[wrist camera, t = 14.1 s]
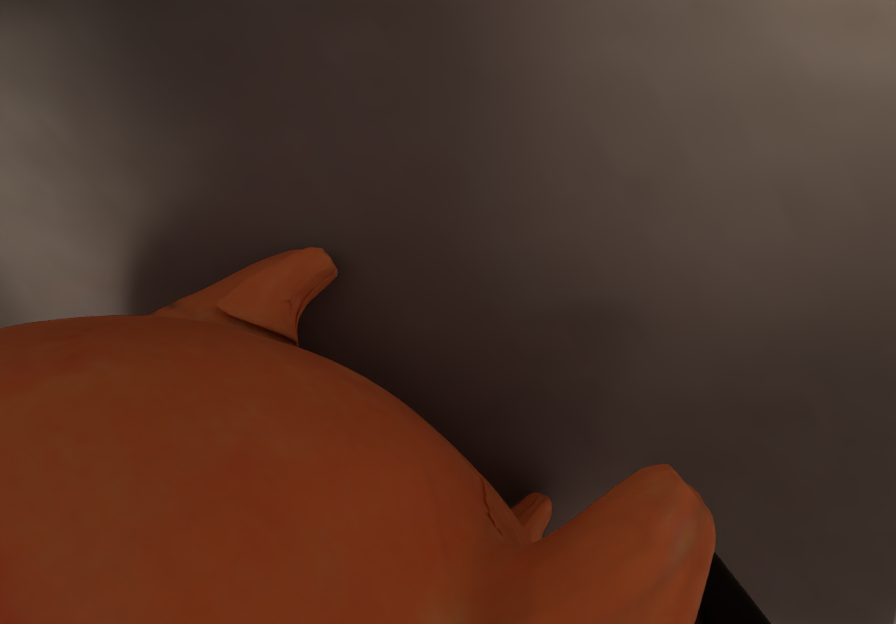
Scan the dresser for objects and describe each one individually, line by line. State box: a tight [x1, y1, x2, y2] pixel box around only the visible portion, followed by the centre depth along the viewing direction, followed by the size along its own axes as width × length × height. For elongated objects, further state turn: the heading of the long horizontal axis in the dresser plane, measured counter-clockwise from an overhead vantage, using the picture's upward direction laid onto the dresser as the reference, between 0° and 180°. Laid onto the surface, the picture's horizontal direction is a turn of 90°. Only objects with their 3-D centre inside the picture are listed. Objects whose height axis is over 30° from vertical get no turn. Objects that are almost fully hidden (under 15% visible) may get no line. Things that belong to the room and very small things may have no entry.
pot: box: [0, 247, 716, 624], centre depth 6 cm, size 8×8×7 cm
